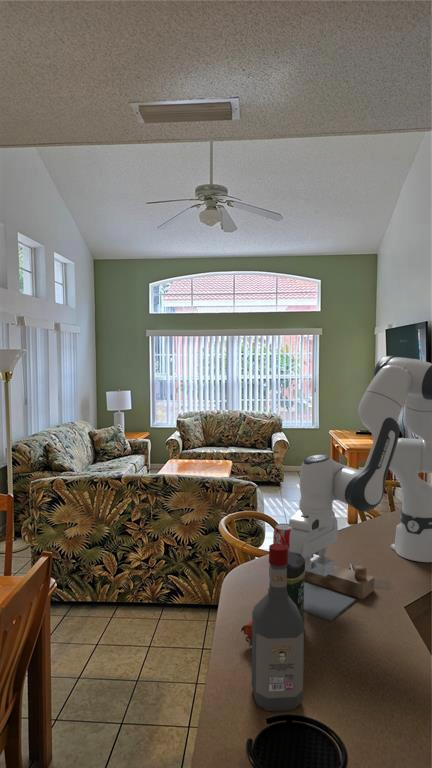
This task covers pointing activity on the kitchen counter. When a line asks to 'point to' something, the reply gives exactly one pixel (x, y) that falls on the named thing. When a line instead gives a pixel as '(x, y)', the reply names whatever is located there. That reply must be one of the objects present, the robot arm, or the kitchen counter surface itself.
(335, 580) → the hand plane
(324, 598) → the rubber mat
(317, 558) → the lever cap
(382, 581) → the kitchen counter surface
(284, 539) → the soda can
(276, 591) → the liquor
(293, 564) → the coffee jar
